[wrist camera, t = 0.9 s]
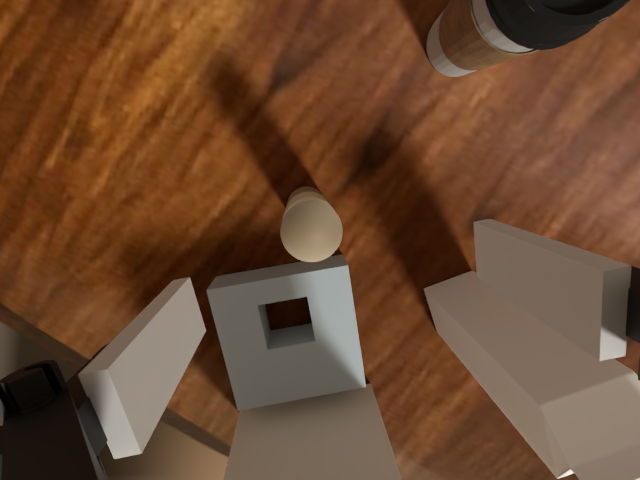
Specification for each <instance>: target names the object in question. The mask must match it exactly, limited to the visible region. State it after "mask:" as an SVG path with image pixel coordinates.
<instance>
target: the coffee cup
mask: <svg viewBox="0 0 640 480" xmlns="http://www.w3.org/2000/svg"><path fill="white" fill-rule="evenodd" d="M629 1H630V0H450V1H449V3H448V4H447V5H446V7H445V9H444V10H443V12H442V13H441V14H440V16H439V17H438V18H437V19H436V21H435V22H434V23H433V25H432V27H431V29H430V31H429V34H428V37H427V54H428V58H429V60H430V62H431V64H432V65H433V67H434V68H435V69H436V70H437V71H438V72H440V73H441V74H443V75H446V76H449V77H458V76H462V75H465V74H468V73H471V72H474V71H476V70H480V69H483V68H487V67H490V66H493V65H496V64H499V63H502V62H505V61H509V60H512V59H515V58H518V57H521V56H524V55H527V54H530V53H533V52H536V51H539V50H545V49H553V48H556V47H559V46H562V45H565V44H567V43H569V42H570V41H573V40H576V39H577V38H579V37H581V36H583V35H585V34H586V33H588V32H589V31H590V30H591V29H592V28H594V27H595V26H596V25H597V24H599V23H600V22H602V21H603V20H605V19H607V18H608V17H610V16H611V15H612V14H614V13H615V12H617V11H618V10H619V9H620V8H622V7H623V6H624V5H625V4H626V3H628V2H629Z"/></svg>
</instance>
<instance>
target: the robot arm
mask: <svg viewBox="0 0 640 480" xmlns="http://www.w3.org/2000/svg"><path fill="white" fill-rule="evenodd" d="M474 238H475V254H476V270H477V278H478V279H480V280H481V281H483V282H484V283H486V284H487V285H489V286H490V287H492V288H493V289H494V290H496V291H497V292H499V293H500V294H502V295H503V296H505V297H506V298H508V299H509V300H511V301H512V302H513V303H515V304H516V305H518V306H519V307H521V308H522V309H524V310H525V311H527V312H528V313H530V314H531V315H533V316H534V317H535V318H537V319H538V320H540V321H541V322H543V323H544V324H546V325H547V326H549V327H550V328H552V329H553V330H555V331H556V332H557V333H559V334H560V335H562V336H563V337H565V338H566V339H568V340H569V341H571V342H572V343H574V344H575V345H576V346H578V347H579V348H581V349H582V350H584V351H585V352H587V353H588V354H590V355H591V356H593V357H594V358H596V359H597V360H598V361H603V360H608V359H613V358H618V357H623V356H626V342H627V336H628V337H630V338H632V339H633V340H635V341H637V342H639V343H640V269H639V268H636V267H633V266H631V265H628V264H625V263H622V262H619V261H616V260H613V259H610V258H607V257H604V256H601V255H598V254H595V253H592V252H589V251H586V250H583V249H579V248H576V247H573V246H570V245H567V244H564V243H561V242H558V241H555V240H552V239H549V238H546V237H543V236H540V235H537V234H534V233H531V232H528V231H525V230H522V229H519V228H516V227H513V226H510V225H507V224H504V223H501V222H498V221H495V220H492V219H487V220H481V221H476V222H474ZM205 332H206V328H205V325H204V322H203V319H202V315H201V312H200V309H199V305H198V302H197V299H196V295H195V292H194V289H193V286H192V282H191V279H190V277H187V278H182V279H177V280H173V281H172V282H171V283H170V284H169V285H168V286H167V287H166V288H165V289H164V290H163V291H162V292H161V293H160V294H159V295H158V296H157V297H156V298H155V299H154V300H153V301H152V302H151V303H150V304H149V305H148V306H147V307H146V308H145V309H144V310H143V311H142V312H141V313H140V314H139V315H138V316H137V317H136V318H135V319H134V320H133V321H132V322H131V323H130V324H129V325H127V326H126V327H125V328H124V329H123V330H122V331H121V332H120V333H119V334H118V335H117V336H116V337H115V338H114V339H113V340H112V341H111V342H110V343H108V344H107V345H105V346H104V347H102V348H101V349H100V350H99V351H98V352H97V353H96V354H95V355H94V356H93V357H92V359H90V360H89V361H88V362H87V363H86V364H85V365H84V367H82V368H81V369H80V370H79V371H78V372H77V373H76V374H75V375H74V376H73V377H72V378H70V379H69V380H68V381H67V382H65V380H64V378H63V375H62V373H61V371H60V369H59V367H58V364H57V362H55V361H54V360H45V361H41V362H38V363H34V364H31V365H29V366H26V367H23V368H21V369H19V370H17V371H15V372H13V373H11V374H9V375H8V376H6V377H5V378H3V379H1V380H0V415H1V417H2V419H3V426H0V480H108V479H107V476H106V473H105V470H104V467H103V465H102V463H101V460H100V458H99V456H98V454H99V453H100V451H101V450H102V448H103V447H104V445H105V444H106V442H107V443H108V446H109V448H110V450H111V453H112V455H113V457H114V459H117V458H122V457H127V456H132V455H137V454H141V453H142V452H143V450H144V448H145V446H146V444H147V442H148V440H149V439H150V437H151V435H152V433H153V431H154V429H155V427H156V425H157V423H158V421H159V420H160V418H161V416H162V414H163V412H164V410H165V408H166V406H167V404H168V402H169V401H170V399H171V397H172V395H173V393H174V391H175V389H176V387H177V385H178V383H179V382H180V380H181V378H182V376H183V374H184V372H185V370H186V368H187V366H188V364H189V363H190V361H191V359H192V357H193V355H194V353H195V351H196V349H197V347H198V345H199V344H200V342H201V340H202V338H203V336H204V334H205ZM638 380H640V359H639V371H638Z"/></svg>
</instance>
